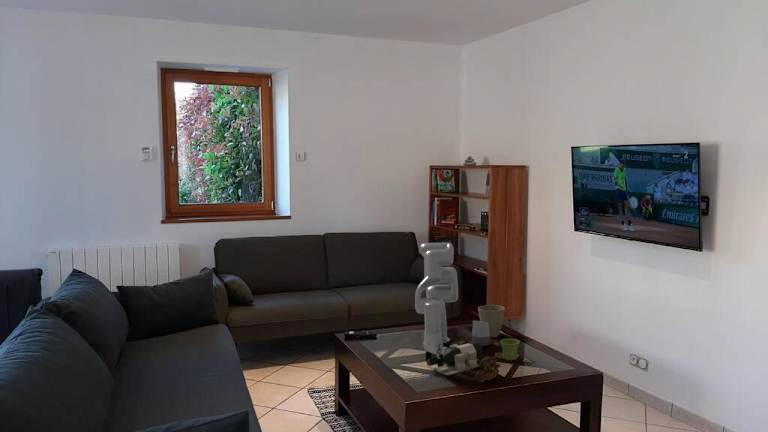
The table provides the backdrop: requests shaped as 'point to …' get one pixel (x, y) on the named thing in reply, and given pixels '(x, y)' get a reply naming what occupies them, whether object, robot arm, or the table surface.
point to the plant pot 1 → (492, 318)
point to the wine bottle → (456, 350)
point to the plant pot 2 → (510, 348)
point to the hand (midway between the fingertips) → (434, 363)
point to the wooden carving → (487, 369)
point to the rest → (457, 363)
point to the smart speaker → (481, 333)
